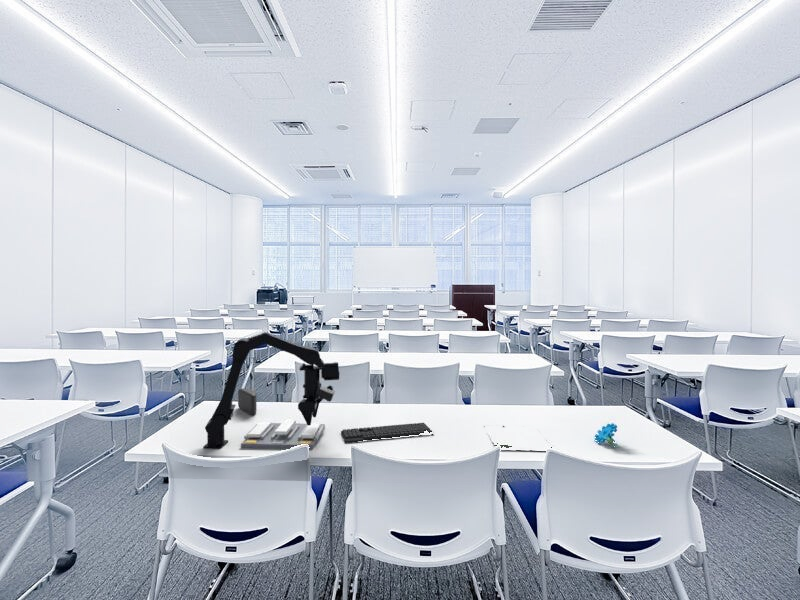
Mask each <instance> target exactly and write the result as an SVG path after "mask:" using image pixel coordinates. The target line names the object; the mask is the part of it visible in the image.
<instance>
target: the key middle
mask: <svg viewBox="0 0 800 600" xmlns="http://www.w3.org/2000/svg"><path fill="white" fill-rule="evenodd" d="M281 423H282V424H281V425H280V426H279V427H278V428H277V429H276V430H275V434H278V435H287V433H288V432H289V431H290V430H291V428H292V427H293V426H294V425H295V424H297V420H296V419H284V420H283V421H282V422H281Z"/></svg>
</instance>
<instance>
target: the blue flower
mask: <svg viewBox="0 0 800 600" xmlns="http://www.w3.org/2000/svg"><path fill="white" fill-rule="evenodd" d="M617 431H618V426H617V424H614V422H612V423H606V426H605V425H603V426H601V429H598V430H597V431H596V432H597V433H595V434H594V439H595V440H597V441H595V440H594V441H595V442H596V443H597V442H600V444H604V443H605V442H607V443H608V445H611V446H612V447H614V446H616V444H614V443H613V441H614V442H615V441H616V440H615V439H614V438H613V437H614V436H615V433H617ZM595 437H596V438H595Z"/></svg>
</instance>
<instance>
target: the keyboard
mask: <svg viewBox="0 0 800 600" xmlns="http://www.w3.org/2000/svg"><path fill="white" fill-rule="evenodd" d="M430 429H431V428H430V427H429V426H428V425H427V424H426V423H425V422H417V423H416V422H415V423H405V424H404V423H403V424H402V423H401V424H392V425H380V426H369V427H368V426H367V427H359V428H347V429H346V428H345V429H342V430H341V431H340V434H341V437H342V439H344V440H343V442H344V443H345V444H353V443H352V442H355V443H359V442H358V441H363V440H372V439H381V438H392V437H400V436H409V435H419V434H420V433H424V431H426V430H427V431H428V432H429V433H430V432H432V431H433V430H432V429H431V430H430Z"/></svg>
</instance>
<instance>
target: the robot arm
mask: <svg viewBox="0 0 800 600" xmlns="http://www.w3.org/2000/svg"><path fill="white" fill-rule="evenodd" d="M264 345H268V346H270V347H272V348H275V349H277V350H280V351H283V352H285V353H288V354H291V355H294V356H295V357H297V358H298V359H300V360H301V361H302V362H303V363H302V365H300V366H299V371H304V375H303V376H304V378H303V379H304V382H303V383H304V384H302V388H304V390H303V391H304V394H303V395H302V399H301V400H300V401H299V402H298V403H297V409H298V410H299V412H300V413H301V415H302V416H303V419H304V420H305V424H307V425H311V423H312V420H313V418H317V414H318V410H319V405H320V403H321V402H322V401H323V400H324V401H325V400H326V401H327V402H331V401H332V400H333V398H334V395H335V392H336V391H335V390H334V386H333V385H331V384H329V385H328V386H322V382H321V381H320V380H321V379H323V380H324V382H325V381H339V380H340V371H339V369H340V367H339V362H338V361H334V362H324V360H323V359H322V357H321V355H320V351H319V350H318V349H317V348H315V347H312V346H307V345H302V344H301V345H300V344H297V343H294V342H292V341H289V340H286V339H283V338H282V337H279V336H276V335H273V334H271V333H270V332H267V331H264V332H262V333H261V334H257V335H255V336H252V337H249V338H247V337H246V338H245V337H243V338H239V339H238V340H237V341H236V342H235V343H234V345H233V350H232V359H231V361H232V364H231V367H230V370H229V373H228V377H227V380H226V383H225V386H224V388H223V389H224V390H223V393H222V396H221V399H220V400H219V403H218V405H217V407H216V408H215V410H214V412H213V414H212V417H211V418H210V419H209V420H208V421H207V424H206V425H205V426H204V429H205V432H206V435H207V437H206V438H207V443H205V445H203V446H202V447H203V449H222V448H223V447H224V446H225V445H226V444H227V443H229V440H227V439H225V426H226V425H228V422H229V421H232V419H233V415H234V410H235V407H236V404H233V399H234V396H235V392H236V389H237V386H238V382H239V379H240V375H241V372H242V370H243V366H244V363H246V362H245V361H246V360H247V358H248V355H249V354H250V352H251V351H252V350H255V349H257V348H259V347H262V346H264ZM314 365H315V366H314ZM320 374H321V375H320ZM320 376H321V377H320Z"/></svg>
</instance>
